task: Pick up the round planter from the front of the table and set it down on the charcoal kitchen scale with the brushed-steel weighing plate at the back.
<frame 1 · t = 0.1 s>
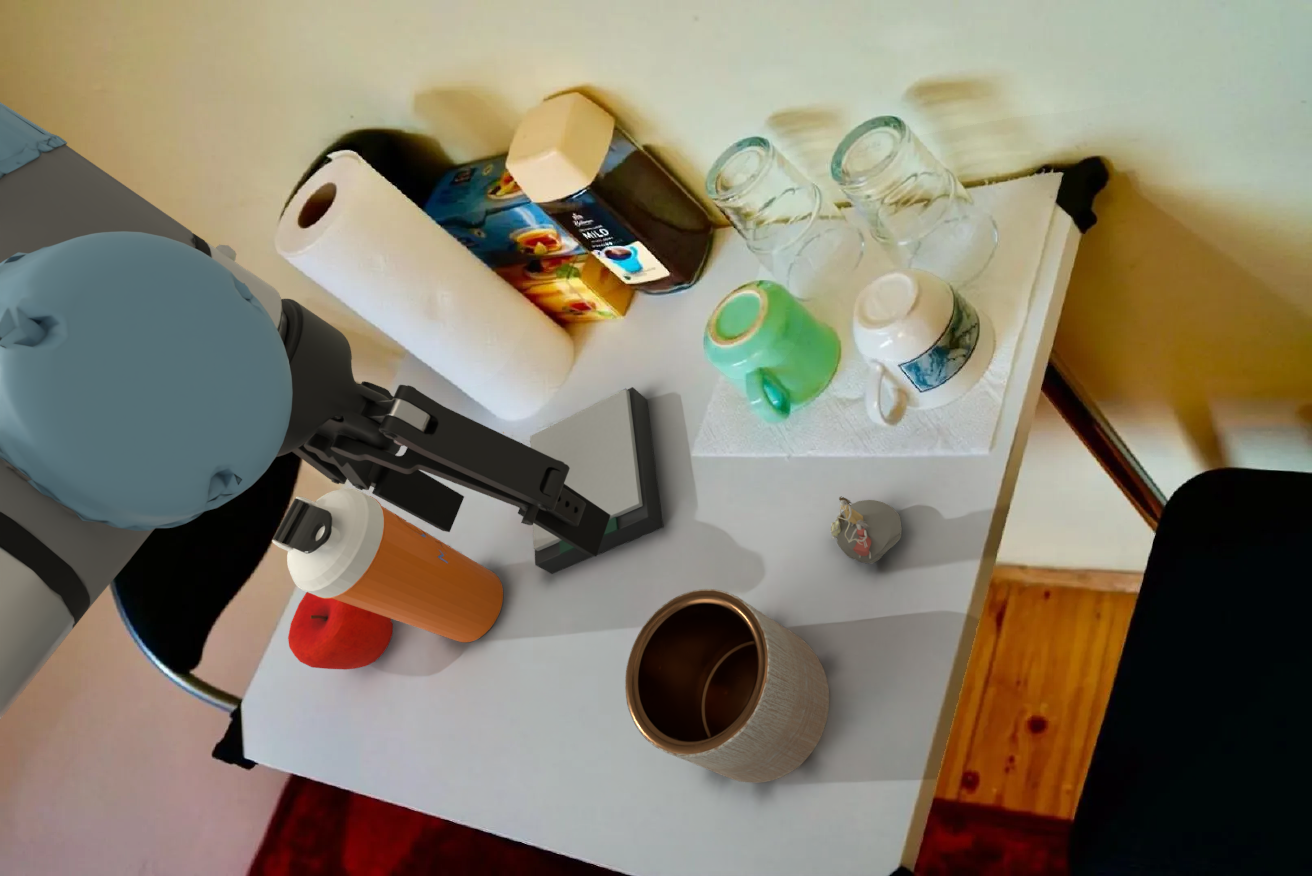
hand: (521, 523, 59), 18 cm above the table, tool pointing down, fingers open, 13 cm apart
shaker bottle: (476, 606, 84), on the table
apple: (377, 638, 90), on the table
planter: (762, 704, 64), on the table
scale: (600, 484, 82), on the table
figurine: (875, 541, 65), on the table
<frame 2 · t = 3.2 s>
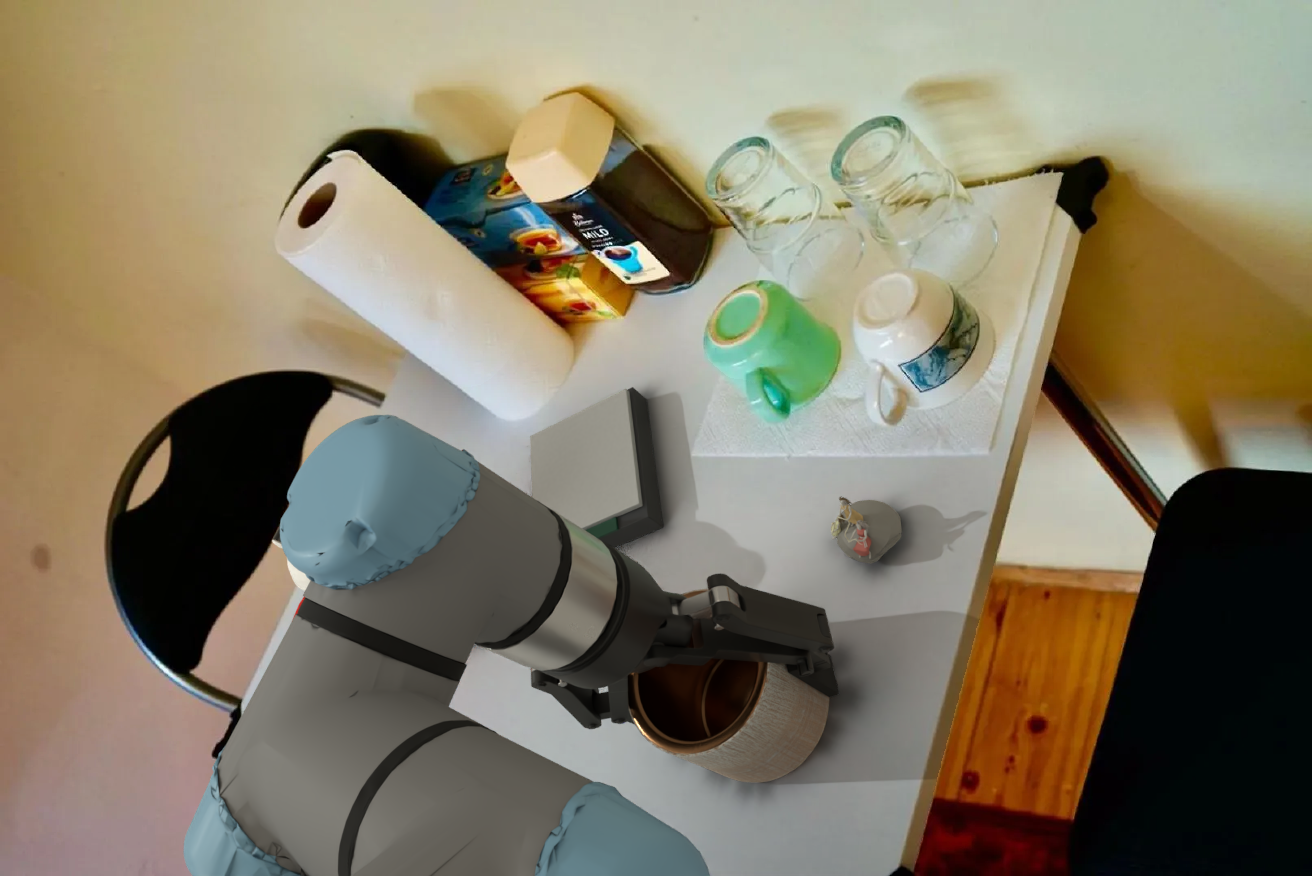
hand: (755, 700, 63), 1 cm above the table, tool pointing down, fingers closed on planter, 11 cm apart
planter: (762, 704, 64), on the table, touching gripper
everything else where it was.
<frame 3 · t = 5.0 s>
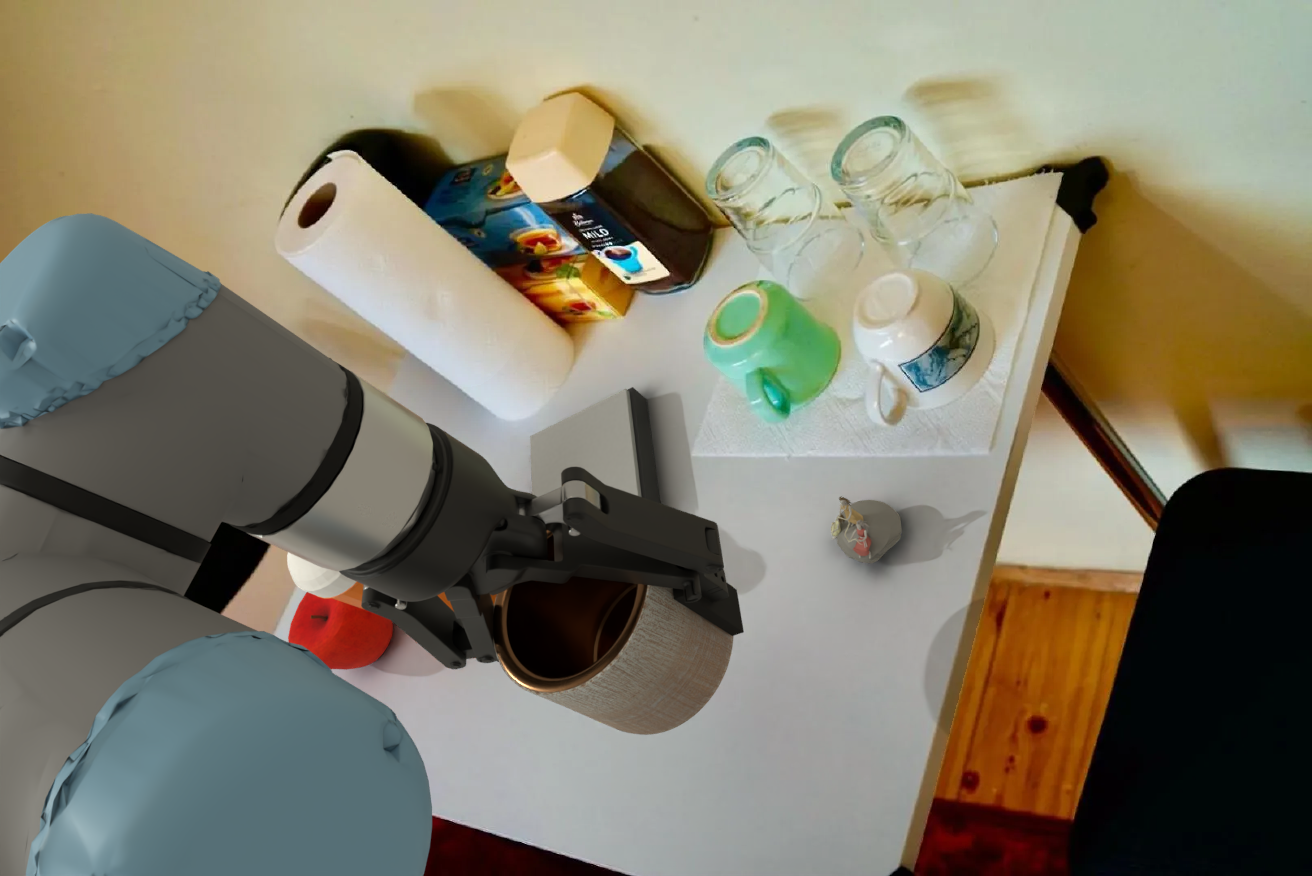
hand: (651, 641, 54), 14 cm above the table, tool pointing down, fingers closed on planter, 11 cm apart
planter: (662, 647, 55), point 13 cm above the table, touching gripper
everything else where it was.
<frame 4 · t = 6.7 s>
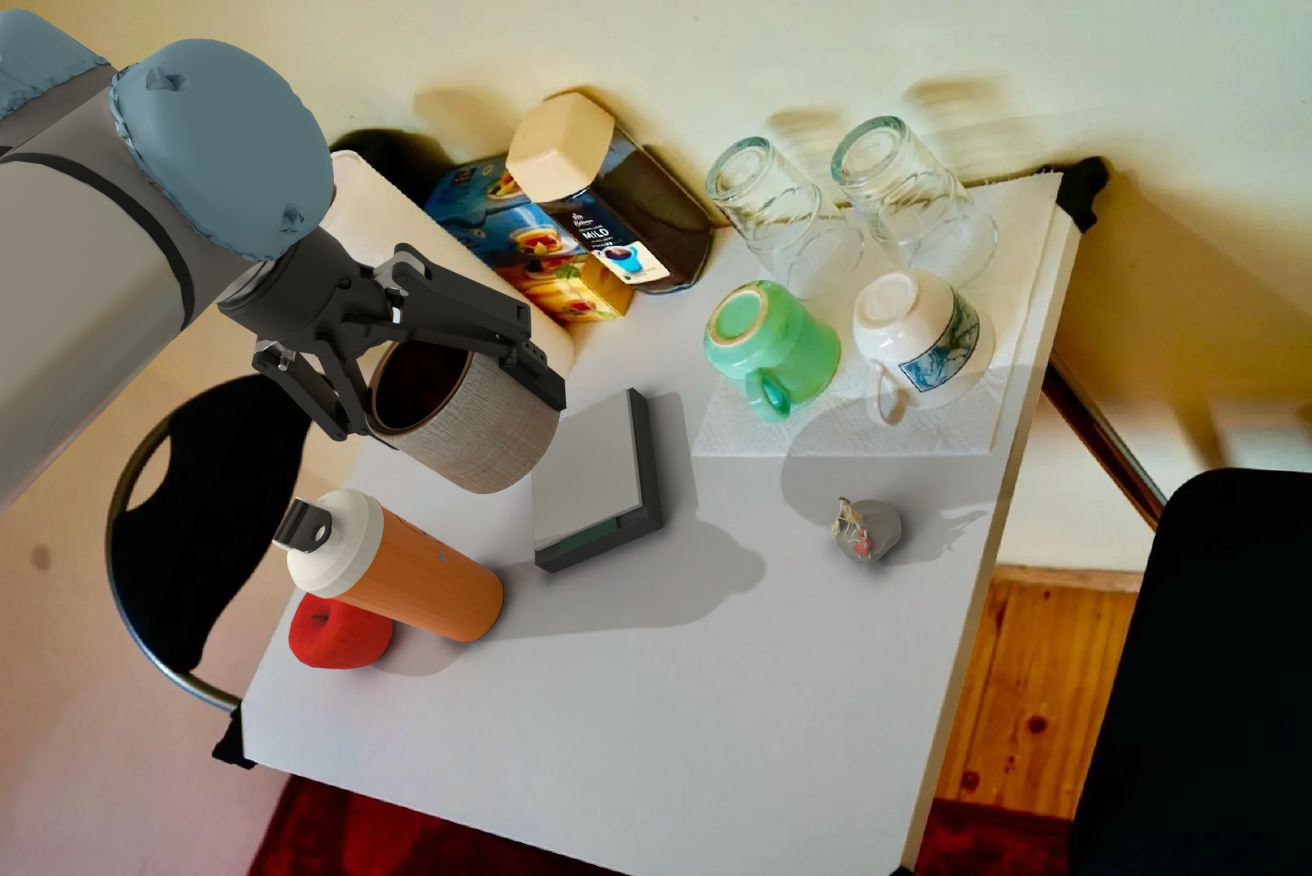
hand: (500, 426, 68), 16 cm above the table, tool pointing down, fingers closed on planter, 11 cm apart
planter: (511, 434, 69), point 15 cm above the table, touching gripper
everything else where it was.
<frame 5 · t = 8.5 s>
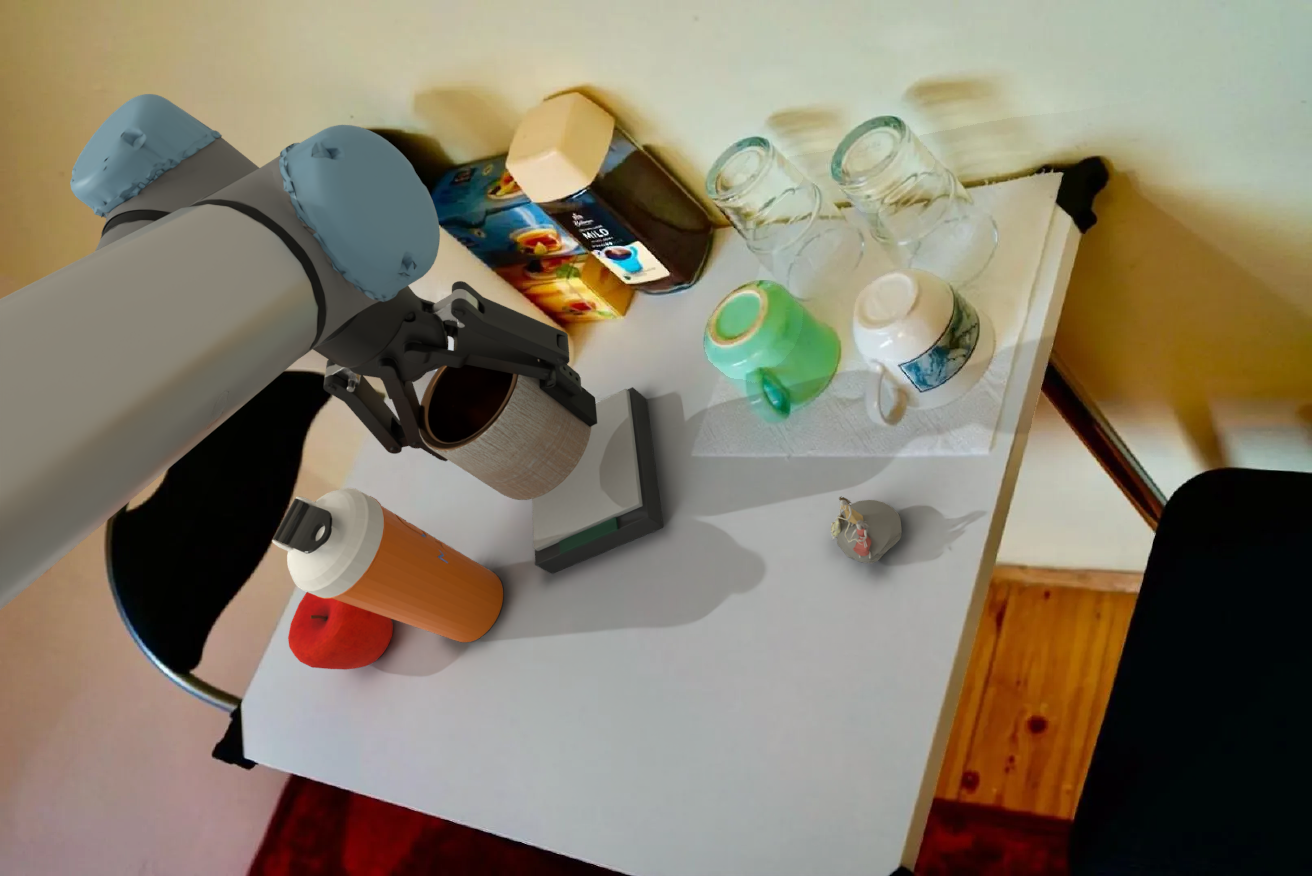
hand: (537, 439, 76), 9 cm above the table, tool pointing down, fingers closed on planter, 11 cm apart
planter: (545, 445, 76), point 8 cm above the table, touching gripper
everything else where it was.
when the fingers open (4 cm above the table, at t = 10.3 s): planter stays where it is, resting on scale.
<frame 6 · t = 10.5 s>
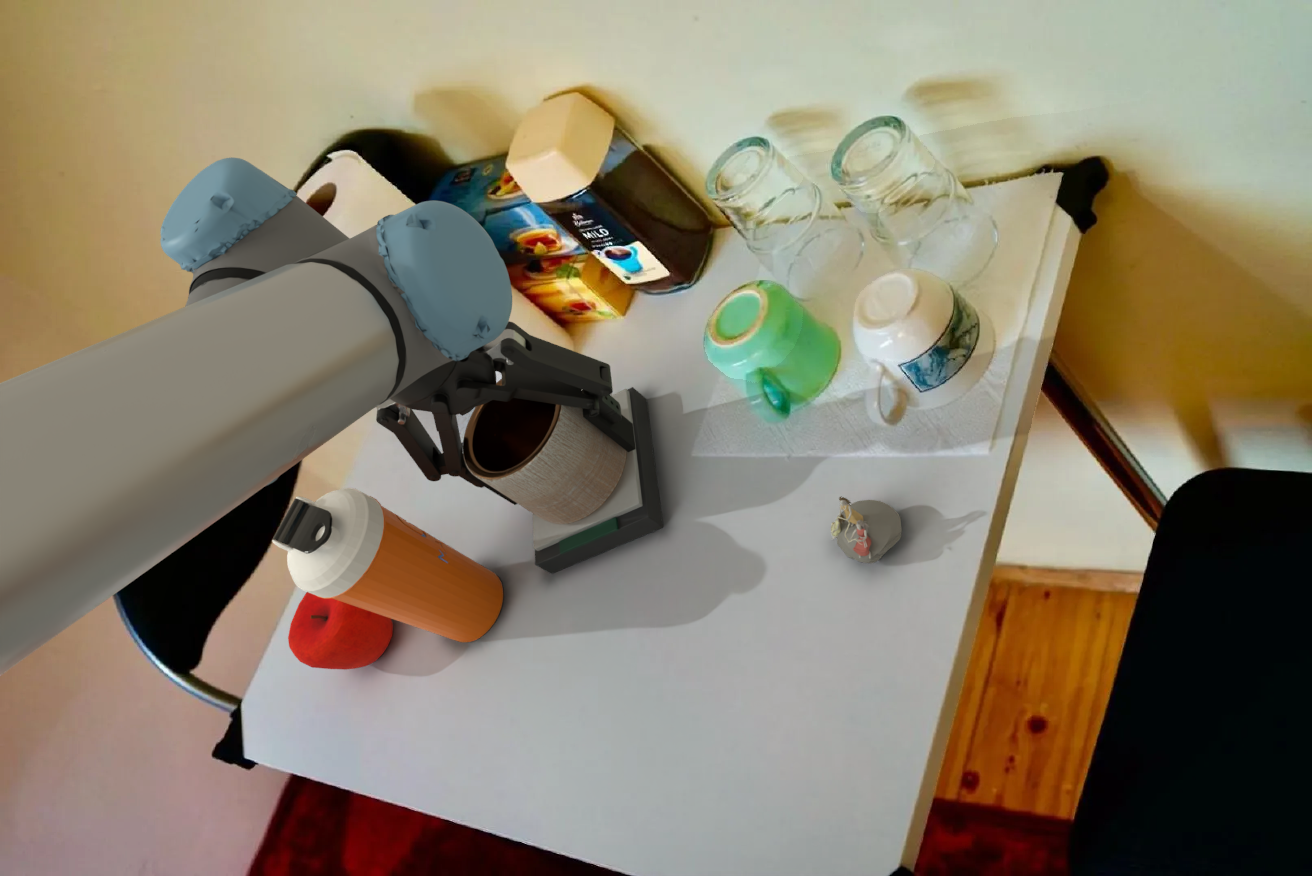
hand: (572, 465, 79), 4 cm above the table, tool pointing down, fingers open, 12 cm apart
planter: (582, 471, 80), point 3 cm above the table, touching scale
everything else where it was.
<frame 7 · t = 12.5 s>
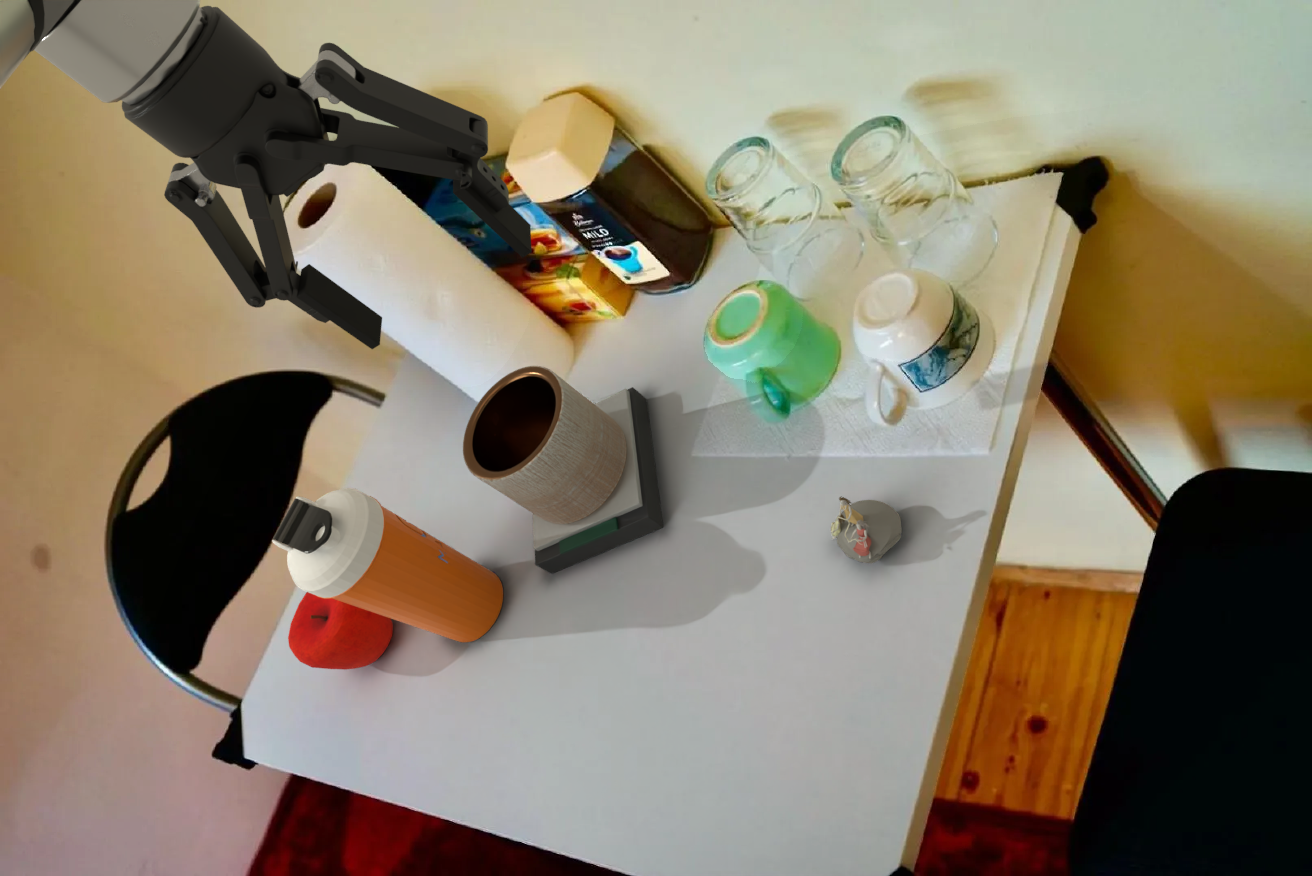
hand: (449, 289, 61), 26 cm above the table, tool pointing down, fingers open, 13 cm apart
nothing on the table moved.
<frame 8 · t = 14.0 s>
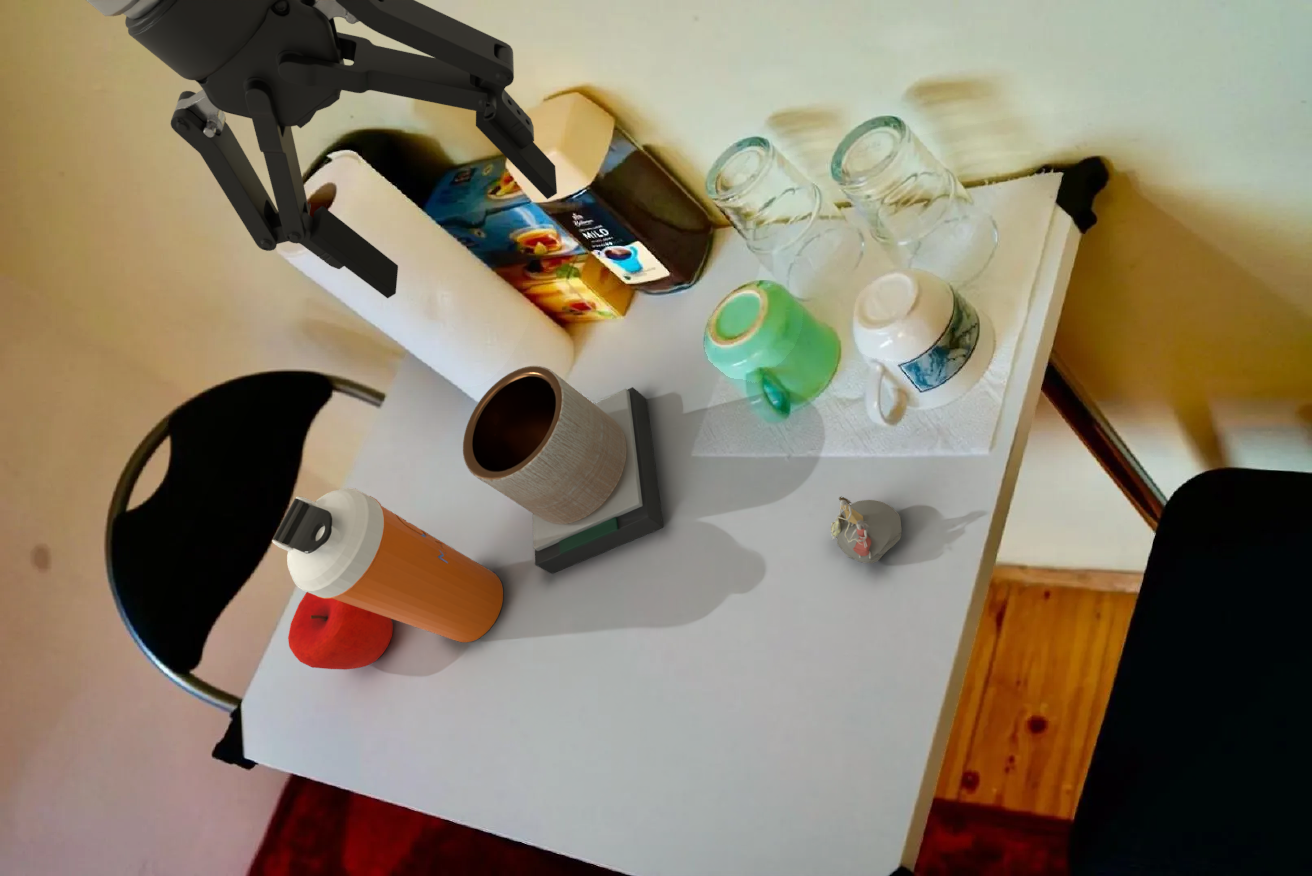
hand: (469, 234, 58), 29 cm above the table, tool pointing down, fingers open, 13 cm apart
nothing on the table moved.
at the end: planter inside the target area on the scale (0.2 cm from its centre), point 2.8 cm above the scale's base; planter tilted 0°; the gripper is holding nothing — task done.
